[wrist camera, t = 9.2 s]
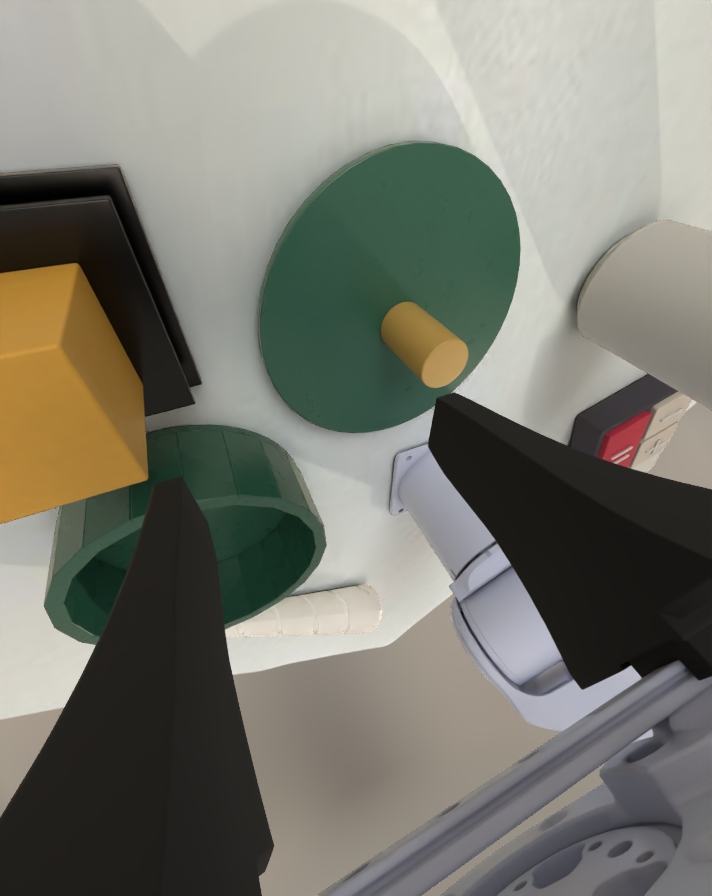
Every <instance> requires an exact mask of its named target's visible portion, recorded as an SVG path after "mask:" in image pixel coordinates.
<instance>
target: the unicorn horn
mask: <svg viewBox="0 0 712 896" xmlns="http://www.w3.org/2000/svg"><path fill="white" fill-rule="evenodd" d="M381 616H382V605H381V600H380V598H379V595H378V593H377V592H376V591H375V590H374V589H373V588H372V587H371V586H369V585H367V584H363V585H358V586H355V587H354V586H352V587H346V588H340V589H334V590H330V591H322V592H316V593H310V594H305V595H299V596H297V597H296V596H293V597H287V598H284V599H283V600H281V601H280V602H279V603H277V604H275V605H274V606H272V607H270V608H269V609H267V610H265V611H263V612H262V613H260V614H258V615H257V616H254V617H253V618H251V619H248V620H246V621H244V622H241V623H239V624H237V625H234V626H232V627H230V628H227V629H225V634H226V638H230V637H240V635H241V634H244V635H245V637H268V636H278V633H282V635H283V636H296V635H311V634H312V633H313V632H314V633H315V635H320V634H341V633H343V632H344V633H345V634H346V633H366V632H371V631H373V630H374V629H375V628H376V627H377V626H378V625H379V622H380V620H381Z"/></svg>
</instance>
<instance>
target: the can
mask: <svg viewBox="0 0 712 896" xmlns="http://www.w3.org/2000/svg"><path fill="white" fill-rule="evenodd" d="M577 314H578V315H577V321H578V330H579V331H580V333H581V334H582V336H584V337H586V338H587V339H589V340H591V341H593V342H594V343H596V344H598V345H599V346H601V347H603V348H605V349H606V350H608V351H610V352H612V353H613V354H615V355H617V356H619V357H620V358H622V359H624V360H625V361H627V362H629V363H631V364H632V365H634V366H636V367H638V368H639V369H641V370H643V371H644V372H646V373H648V374H650V375H651V376H653V377H655V378H657V379H658V380H660V381H662V382H663V383H665V384H667V385H669V386H670V387H672V388H674V389H676V390H677V391H679V392H681V393H682V394H684V395H686V396H688V397H689V398H691V399H693V400H695V401H696V402H698V403H700V404H702V405H703V406H705V407H707V408H708V409H710V410H712V231H708V230H704V229H701V228H697V227H694V226H690V225H686V224H683V223H679V222H675V221H672V220H658V221H654V222H652V223H650V224H648V225H646V226H644V227H642V228H640V229H639V230H637V231H636V232H634V233H632V234H630V235H628V236H626V237H624V238H623V239H621V240H620V241H619V242H618V243H616V244H615V245H614V246H613V247H611V248H610V249H609V250H608V251H607V253H606V254H605V255H604V256H603V257H602V258H601V259H600V260H599V261H598V263H597V264H596V266H595V267H594V268H593V270H592V271H591V273H590V274H589V276H588V277H587V279H586V281H585V283H584V286H583V288H582V290H581V292H580V295H579V299H578V303H577Z"/></svg>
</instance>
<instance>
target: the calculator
mask: <svg viewBox="0 0 712 896" xmlns="http://www.w3.org/2000/svg"><path fill="white" fill-rule="evenodd" d="M691 400H692V399H691V398H689V397H688V396H686V395H684V394H682V393H681V392H679V391H677V390H676V389H674V388H672V387H670V386H669V385H667V384H665V383H663V382H662V381H660V380H658V379H657V378H655V377H653V376H651V375H650V374H648V375H646V376H644V377H643V378H641V379H639V380H637V381H636V382H634V383H632V384H631V385H629V386H627V387H625V388H624V389H622V390H620V391H619V392H617V393H615V394H613V395H612V396H610V397H608V398H606V399H605V400H603V401H601V402H600V403H598V404H596V405H594V406H593V407H591V408H589V409H587V410H586V411H584V412H582V413H581V414H579V415H578V416H577V418H576V423H575V427H574V432H573V437H572V441H571V446H570V447H571V448H574V449H576V450H579V451H581V452H584V453H587V454H590V455H592V456H595V457H598V458H601V459H603V460H606V461H609V462H612V463H615V464H618V465H621V466H624V467H628V468H631V469H634V470H638V471H641V472H646V471H648V470H650V469H651V468H653V466H654V465H655V463H656V461H657V459H658V457H659V455H660V453H661V452H662V450H663V449H665V447H666V446H667V444H668V443H669V440H670V439H671V437H672V435H673V433H674V431H675V429H676V428H677V426H678V424H679V422H677V421H678V420H679V419H680V418H682V416H683V414H684V413H685V411H686V409H687V407H688V405H689V403H690V402H691Z"/></svg>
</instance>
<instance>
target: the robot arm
mask: <svg viewBox="0 0 712 896" xmlns="http://www.w3.org/2000/svg"><path fill="white" fill-rule="evenodd" d="M405 511H409V513H410V514H411V516H412V517H413V519H414V521H415V522H416V524H417V525H418V527H419V528H420V530H421V531H422V533H423V534H424V536H425V538H426V539H427V541H428V542H429V544H430V545H431V547H432V548H433V550H434V552H435V553H436V555H437V556H438V558H439V559H440V561H441V562H442V564H443V566H444V567H445V569H446V570H447V572H448V573H449V575H450V576H451V578H452V579H453V581H454V582H453V583H452V584H451V585H449V587H450V589H451V590H452V592H453V594H454V595H455V597H454V598H453V599H452V600H451V602H450V608H451V611H450V617H451V622H452V625H453V627H454V630H455V632H456V634H457V636H458V638H459V640H460V642H461V644H462V646H463V647H464V649H465V651H466V652H467V654H468V655H469V657H470V658H471V660H472V661H473V663H474V664H475V666H476V667H477V668H478V669H479V671H480V672H481V673H482V674H483V675H484V676H485V677H486V678H487V679H488V680H489V681H490V682H491V683H492V684H493V685H495V686H496V687H497V689H498V690H499V691H500V692H501V693H502V695H503V696H504V697H505V698H506V699H507V701H508V702H509V703H510V705H511V706H512V707H513V709H514V710H515V711H516V712H517V713H518V714H520V715H521V716H522V717H523V719H524V720H525V721H526V722H527V723H529V724H532V725H535V726H538V727H542V728H546V729H551V730H555V731H559V732H561V733H559V734H558V735H556V736H555V737H553V738H552V739H551V740H549V741H547V742H546V743H544V744H543V745H541V746H540V747H538V748H537V749H535V750H534V751H532V752H531V753H529V754H528V755H526V756H525V757H523V758H522V759H520V760H519V761H517V762H516V763H514V764H513V765H511V766H510V767H508V768H507V769H505V770H504V771H502V772H501V773H499V774H498V775H496V776H495V777H493V778H492V779H490V780H489V781H487V782H486V783H484V784H483V785H481V786H480V787H478V788H477V789H475V790H474V791H472V792H471V793H469V794H468V795H466V796H465V797H463V798H462V799H460V800H459V801H457V802H456V803H454V804H453V805H451V806H450V807H448V808H447V809H445V810H444V811H442V812H440V813H439V814H437V815H436V816H434V817H433V818H432V819H430V820H428V821H427V822H425V823H424V824H423V825H421V826H420V827H418V828H416V829H415V830H413V831H412V832H410V833H409V834H407V835H406V836H404V837H403V838H402V839H400V840H398V841H397V842H395V843H394V844H393V845H391V846H389V847H388V848H386V849H385V850H384V851H382V852H380V853H379V854H377V855H376V856H374V857H373V858H371V859H370V860H368V861H367V862H365V863H364V864H362V865H361V866H359V867H358V868H356V869H355V870H353V871H352V872H351V873H349V874H347V875H346V876H344V877H343V878H341V879H340V880H338V881H337V882H335V883H334V884H332V885H331V886H329V887H328V888H326V889H325V890H324V891H322V892H320V893H319V894H317V895H316V896H421V895H423V894H424V893H425V892H427V891H428V890H430V889H431V888H432V887H434V886H435V885H436V884H438V883H439V882H440V881H442V880H443V879H445V878H446V877H447V876H449V875H450V874H452V873H453V872H454V871H456V870H457V869H458V868H460V867H461V866H462V865H464V864H465V863H467V862H468V861H469V860H471V859H472V858H474V857H475V856H476V855H478V854H479V853H481V852H482V851H483V850H485V849H486V848H487V847H489V846H490V845H492V844H493V843H494V842H496V841H497V840H499V839H500V838H501V837H503V836H504V835H505V834H507V833H508V832H510V831H511V830H512V829H514V828H515V827H516V826H518V825H519V824H521V823H522V822H523V821H525V820H526V819H527V818H529V817H530V816H532V815H533V814H534V813H536V812H537V811H538V810H540V809H541V808H543V807H544V806H545V805H547V804H548V803H550V802H551V801H552V800H554V799H555V798H556V797H558V796H559V795H561V794H562V793H563V792H565V791H566V790H567V789H569V788H570V787H571V786H573V785H574V784H576V783H577V782H578V781H580V780H581V779H583V778H584V777H585V776H587V775H588V774H589V773H591V772H592V771H594V770H595V769H596V768H598V767H599V766H601V765H602V764H603V763H605V762H606V761H607V762H606V763H605V764H604V766H603V767H602V768H601V769H600V777H601V779H602V780H603V781H604V783H603V784H602V785H600V786H598V787H597V788H595V789H593V790H592V791H590V792H589V793H587V794H585V795H584V796H582V797H580V798H579V799H577V800H575V801H574V802H572V803H571V804H569V805H567V806H566V807H564V808H562V809H561V810H559V811H557V812H556V813H554V814H553V815H551V816H549V817H548V818H546V819H544V820H543V821H541V822H539V823H538V824H536V825H535V826H533V827H531V828H530V829H528V830H527V831H525V832H523V833H522V834H520V835H519V836H517V837H516V838H514V839H513V840H511V841H510V842H508V843H507V844H505V845H504V846H502V847H501V848H500V849H498V850H497V851H495V852H494V853H492V854H491V855H490V856H488V857H487V858H486V859H484V860H483V861H482V862H480V863H479V864H478V865H476V866H475V867H474V868H472V869H471V870H470V871H469V872H467V873H466V874H465V875H464V876H462V877H461V878H460V879H459V880H458V881H456V883H454V884H453V885H452V886H451V887H449V888H448V889H447V890H446V891H445V892H444V893H442V894H441V895H440V896H712V490H711V489H707V488H703V487H699V486H694V485H690V484H686V483H682V482H677V481H673V480H670V479H666V478H662V477H658V476H654V475H651V474H648V473H645V472H641V471H638V470H634V469H631V468H628V467H624V466H621V465H618V464H615V463H612V462H609V461H606V460H603V459H601V458H598V457H595V456H592V455H590V454H587V453H584V452H581V451H579V450H576V449H574V448H571V447H569V446H566V445H564V444H562V443H559V442H557V441H555V440H552V439H550V438H548V437H545V436H543V435H541V434H539V433H537V432H534V431H532V430H530V429H528V428H526V427H524V426H522V425H520V424H518V423H516V422H514V421H511V420H509V419H507V418H505V417H503V416H501V415H499V414H497V413H495V412H493V411H491V410H490V409H488V408H486V407H484V406H482V405H480V404H478V403H476V402H474V401H471V400H469V399H467V398H465V397H463V396H461V395H459V394H456V393H451V394H448V395H444V396H441V397H438V398H436V404H435V409H434V415H433V420H432V426H431V431H430V437H429V442H428V444H425V445H422V446H419V447H416V448H413V449H410V450H407V451H404V452H402V453H399V454H398V455H397V456H396V458H395V463H394V473H393V482H392V492H391V501H390V511H389V512H390V514H391V515H392V516H395V515H398V514H400V513H403V512H405ZM273 847H274V844H273V840H272V836H271V833H270V829H269V825H268V822H267V818H266V814H265V810H264V806H263V802H262V799H261V795H260V791H259V787H258V783H257V779H256V775H255V770H254V766H253V762H252V758H251V754H250V750H249V746H248V742H247V738H246V733H245V729H244V725H243V721H242V716H241V711H240V707H239V703H238V698H237V694H236V689H235V685H234V680H233V675H232V671H231V666H230V661H229V656H228V649H227V643H226V634H225V626H224V617H223V608H222V599H221V591H220V582H219V574H218V565H217V558H216V553H215V549H214V545H213V541H212V537H211V533H210V529H209V524H208V522H207V520H206V518H205V516H204V515H203V513H202V511H201V509H200V508H199V506H198V504H197V502H196V501H195V499H194V497H193V495H192V493H191V492H190V490H189V488H188V486H187V485H186V483H185V481H184V479H183V478H182V476H181V477H177V478H174V479H171V480H168V481H164V482H161V483H158V484H155V485H154V487H153V488H152V491H151V495H150V499H149V503H148V506H147V510H146V514H145V517H144V521H143V524H142V527H141V531H140V534H139V537H138V540H137V543H136V546H135V549H134V552H133V555H132V558H131V561H130V564H129V566H128V569H127V572H126V575H125V578H124V580H123V583H122V585H121V588H120V590H119V593H118V595H117V598H116V600H115V603H114V605H113V607H112V610H111V612H110V615H109V617H108V620H107V622H106V624H105V627H104V629H103V631H102V633H101V635H100V638H99V640H98V642H97V644H96V646H95V648H94V651H93V653H92V655H91V657H90V659H89V661H88V663H87V665H86V667H85V669H84V671H83V673H82V675H81V677H80V679H79V681H78V683H77V685H76V687H75V689H74V691H73V692H72V694H71V696H70V698H69V700H68V702H67V704H66V706H65V707H64V709H63V711H62V713H61V715H60V717H59V719H58V721H57V722H56V725H55V726H54V728H53V730H52V731H51V733H50V735H49V737H48V739H47V740H46V742H45V744H44V746H43V747H42V749H41V751H40V753H39V754H38V756H37V758H36V760H35V761H34V763H33V764H32V766H31V768H30V769H29V771H28V773H27V774H26V776H25V778H24V779H23V781H22V783H21V784H20V786H19V788H18V789H17V791H16V793H15V794H14V796H13V797H12V799H11V801H10V802H9V804H8V806H7V807H6V809H5V811H4V812H3V814H2V816H1V817H0V896H262V895H261V888H260V882H259V876H260V875H261V874H262V873H264V872H265V870H266V867H267V865H268V862H269V859H270V857H271V854H272V851H273Z"/></svg>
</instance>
